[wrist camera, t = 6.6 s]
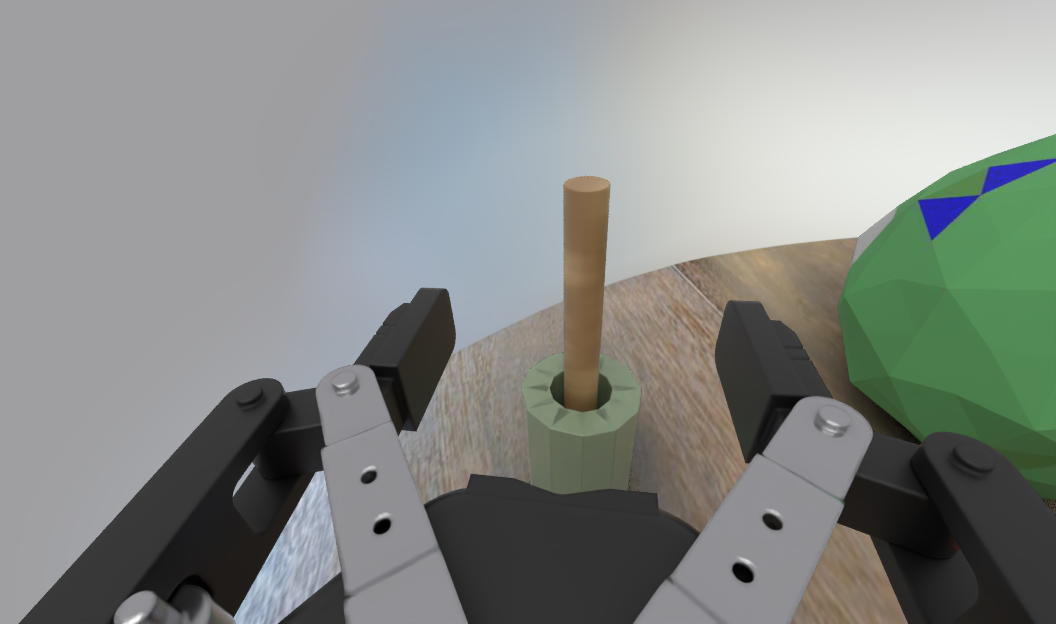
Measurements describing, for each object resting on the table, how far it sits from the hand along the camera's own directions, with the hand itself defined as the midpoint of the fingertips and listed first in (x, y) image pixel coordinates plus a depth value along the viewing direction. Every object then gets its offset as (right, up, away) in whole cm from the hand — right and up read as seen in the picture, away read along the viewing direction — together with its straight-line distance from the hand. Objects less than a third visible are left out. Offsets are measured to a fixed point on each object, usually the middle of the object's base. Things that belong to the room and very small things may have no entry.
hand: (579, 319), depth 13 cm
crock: (+2, -10, +15) cm, 18 cm away
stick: (+2, -10, +14) cm, 17 cm away
